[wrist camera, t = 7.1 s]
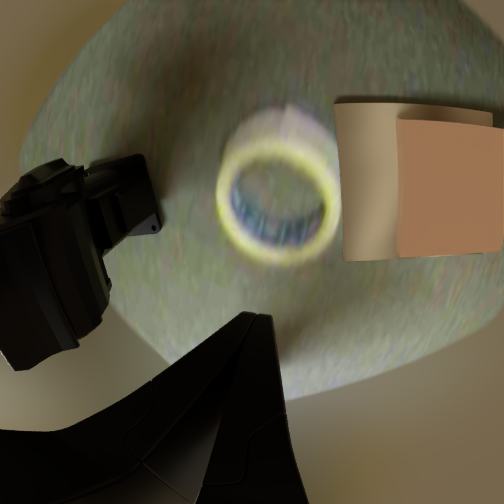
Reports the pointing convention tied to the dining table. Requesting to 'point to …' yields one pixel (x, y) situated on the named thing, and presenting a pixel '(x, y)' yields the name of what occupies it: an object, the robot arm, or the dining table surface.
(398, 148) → the glazed tile
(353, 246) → the cork mat
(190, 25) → the dining table surface
